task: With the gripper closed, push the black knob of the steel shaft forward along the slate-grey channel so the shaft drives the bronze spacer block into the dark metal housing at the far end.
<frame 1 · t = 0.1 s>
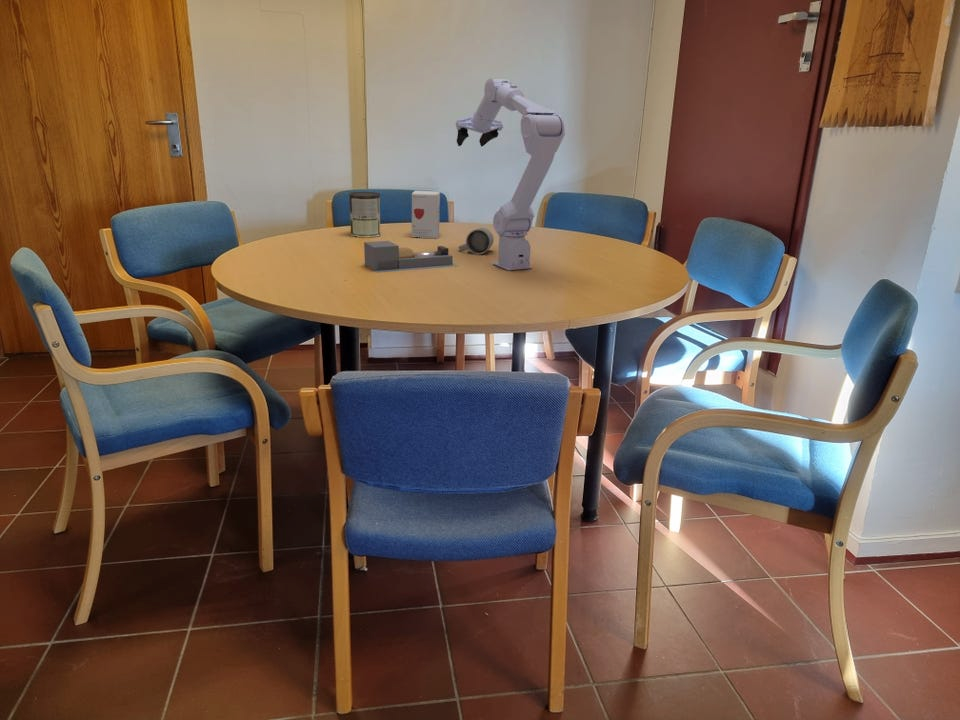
hand: (469, 143, 211), 32 cm above the table, tool tilted 50°, fingers open, 7 cm apart
ceramic mug: (475, 252, 217), on the table
supplement box: (425, 236, 241), on the table
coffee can: (365, 235, 240), on the table
spacer: (403, 265, 193), resting on grey slotted fixture
grey slotted fixture: (414, 266, 195), on the table
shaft: (429, 255, 196), point 3 cm above the table, slide at 0.0 cm
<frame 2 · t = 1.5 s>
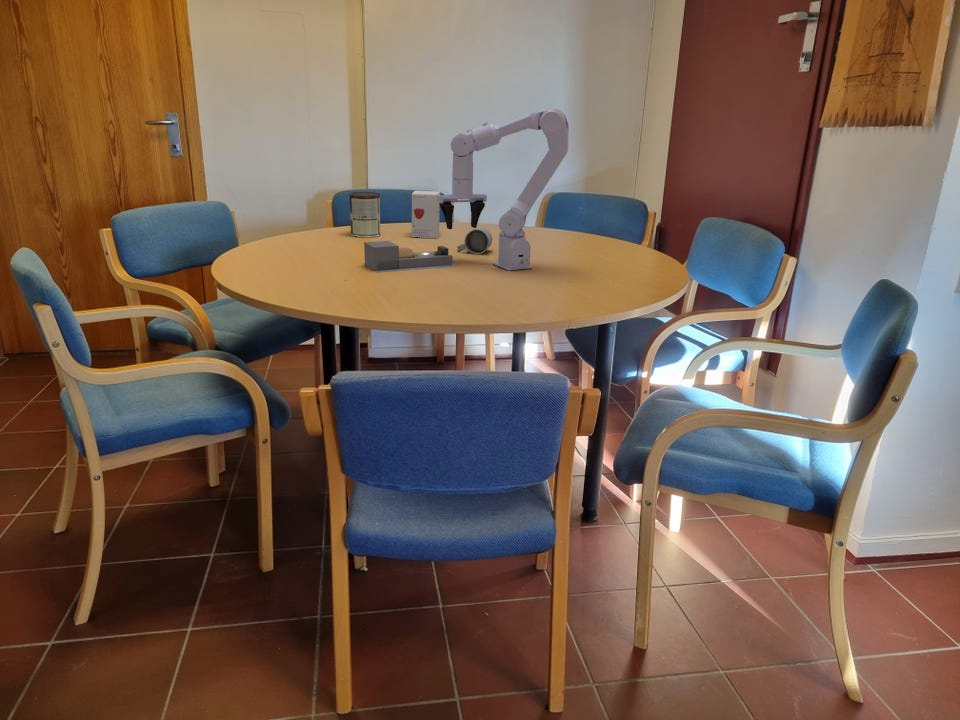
hand: (461, 228, 198), 10 cm above the table, tool pointing down, fingers open, 7 cm apart
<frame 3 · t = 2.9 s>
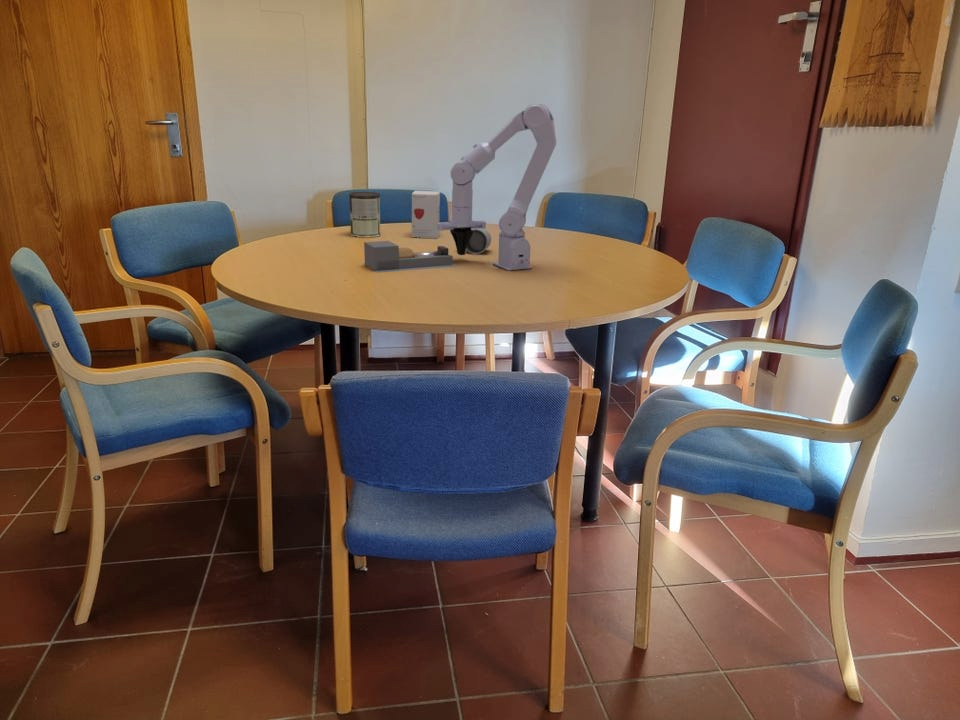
hand: (461, 254, 201), 2 cm above the table, tool pointing down, fingers closed
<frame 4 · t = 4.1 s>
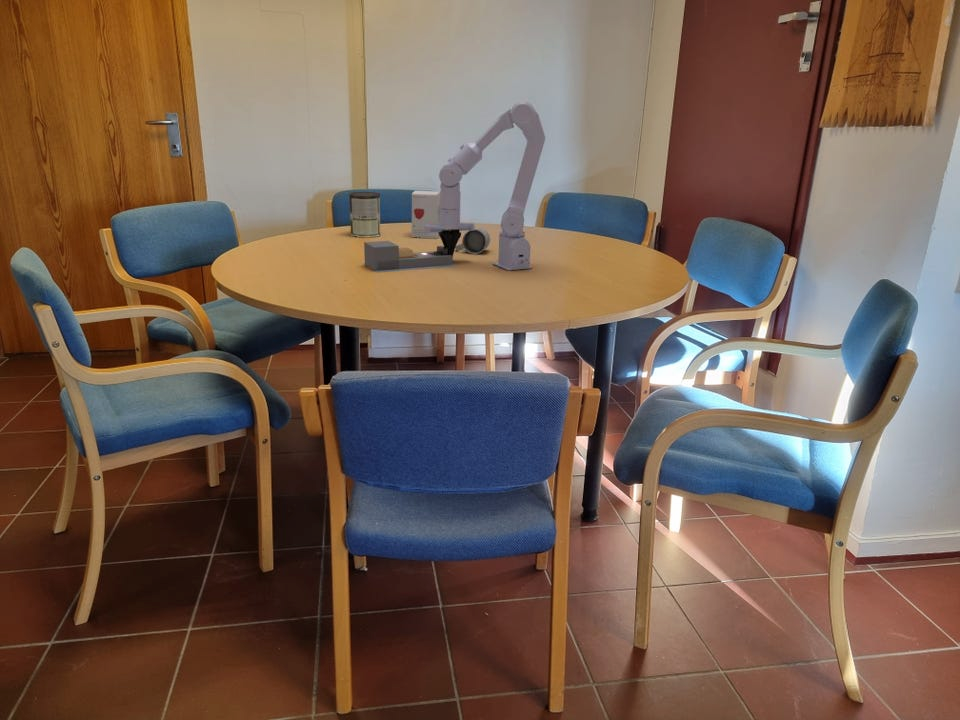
hand: (449, 256, 199), 2 cm above the table, tool pointing down, fingers closed
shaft: (429, 255, 196), point 3 cm above the table, slide at 0.2 cm, touching gripper
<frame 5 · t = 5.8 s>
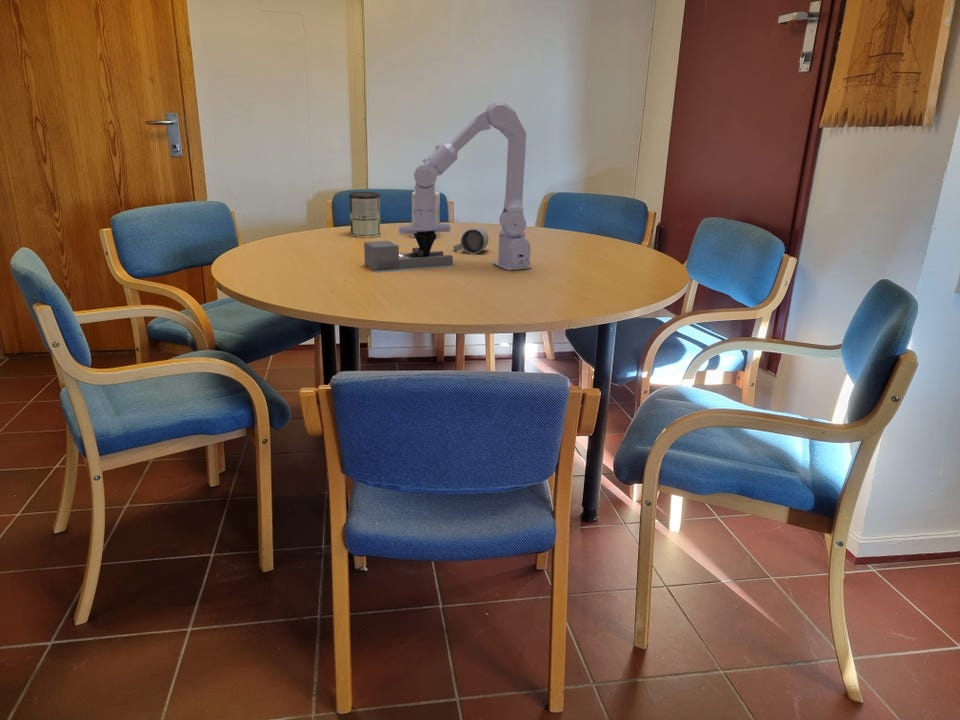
hand: (425, 258, 196), 2 cm above the table, tool pointing down, fingers closed
spacer: (381, 267, 191), resting on grey slotted fixture, touching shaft
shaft: (404, 257, 193), point 3 cm above the table, slide at 7.7 cm, touching gripper, spacer
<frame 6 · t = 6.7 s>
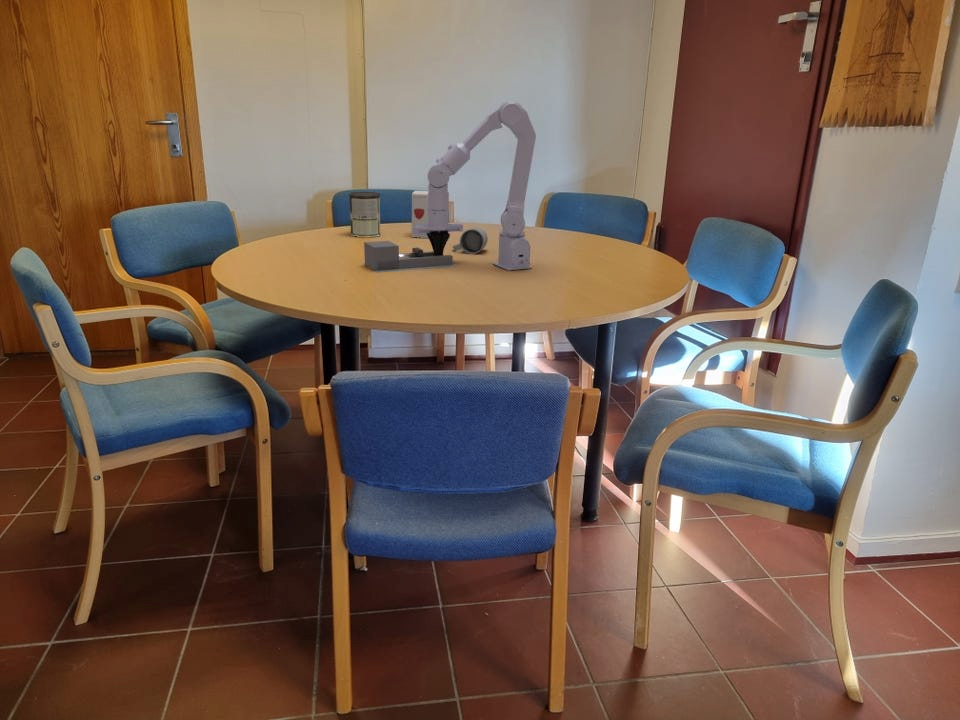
hand: (438, 258, 198), 2 cm above the table, tool pointing down, fingers closed
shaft: (404, 257, 193), point 3 cm above the table, slide at 7.7 cm, touching spacer
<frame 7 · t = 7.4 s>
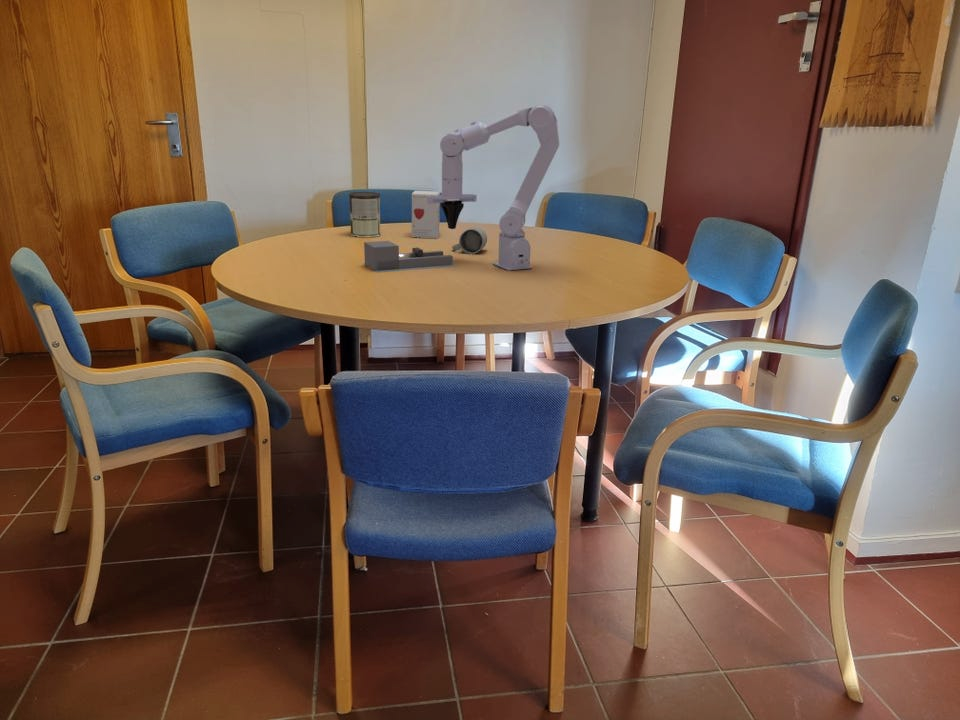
hand: (451, 228, 198), 10 cm above the table, tool pointing down, fingers closed
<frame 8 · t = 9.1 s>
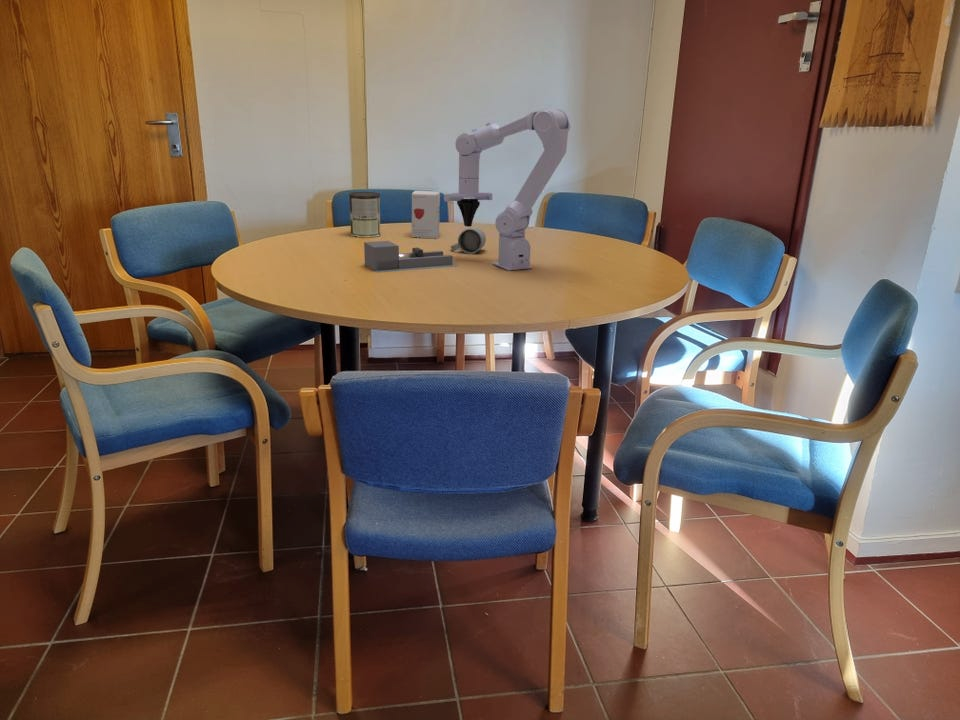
hand: (467, 226, 202), 10 cm above the table, tool pointing down, fingers closed
at the end: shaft slide at 7.7 cm; spacer 0.7 cm from the target spot on the grey slotted fixture, point 0.5 cm above the grey slotted fixture's base; spacer tilted 0° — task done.
